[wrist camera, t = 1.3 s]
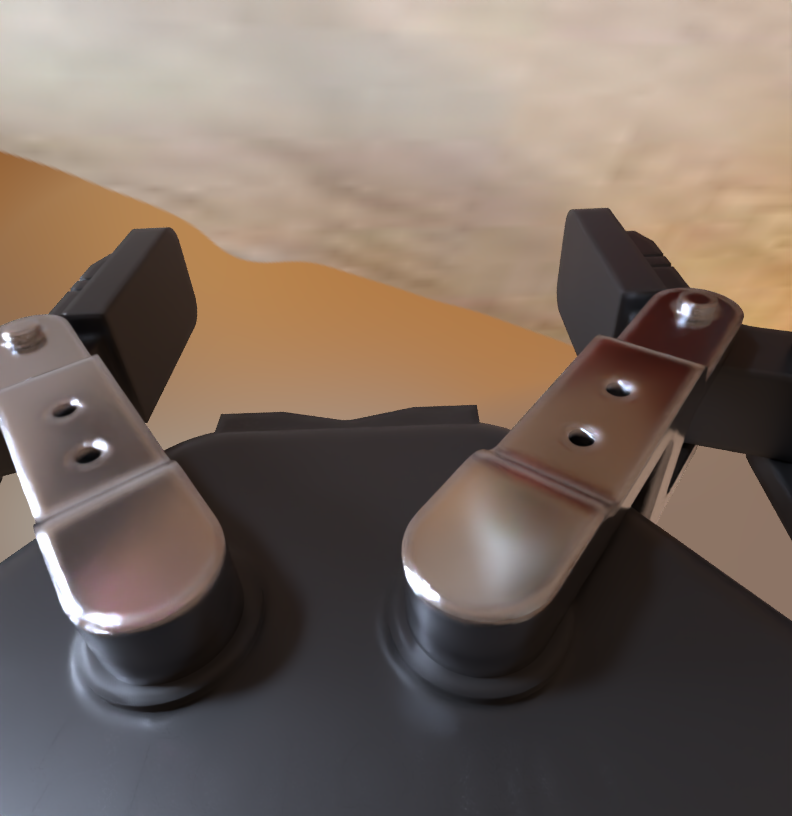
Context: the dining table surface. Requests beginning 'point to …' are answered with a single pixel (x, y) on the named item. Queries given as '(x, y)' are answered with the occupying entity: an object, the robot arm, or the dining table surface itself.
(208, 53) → the dining table surface
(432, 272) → the dining table surface
